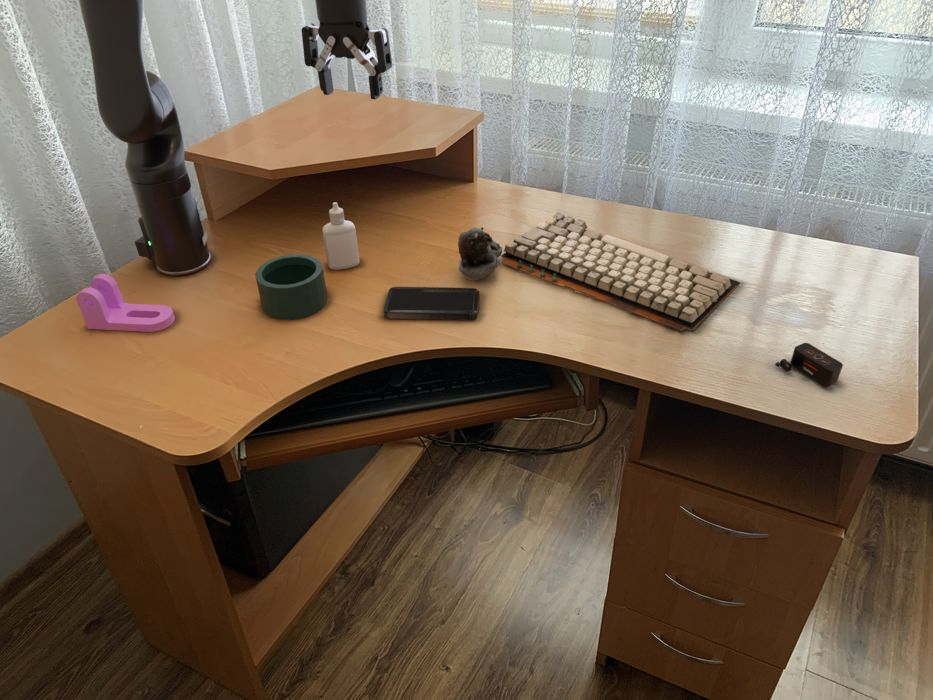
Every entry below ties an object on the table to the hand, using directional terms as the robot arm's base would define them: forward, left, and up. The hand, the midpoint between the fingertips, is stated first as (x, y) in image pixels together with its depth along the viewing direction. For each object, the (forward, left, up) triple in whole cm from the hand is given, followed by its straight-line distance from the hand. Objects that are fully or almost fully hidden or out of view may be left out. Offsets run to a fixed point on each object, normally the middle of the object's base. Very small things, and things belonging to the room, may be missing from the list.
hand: (351, 95), depth 119 cm
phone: (+18, -14, -28) cm, 36 cm away
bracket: (-26, -33, -28) cm, 51 cm away
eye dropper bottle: (-2, -7, -28) cm, 29 cm away
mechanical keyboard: (+44, +5, -28) cm, 53 cm away
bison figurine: (+22, -1, -28) cm, 36 cm away
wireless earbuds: (+75, -14, -28) cm, 81 cm away
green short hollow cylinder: (-4, -20, -28) cm, 35 cm away
